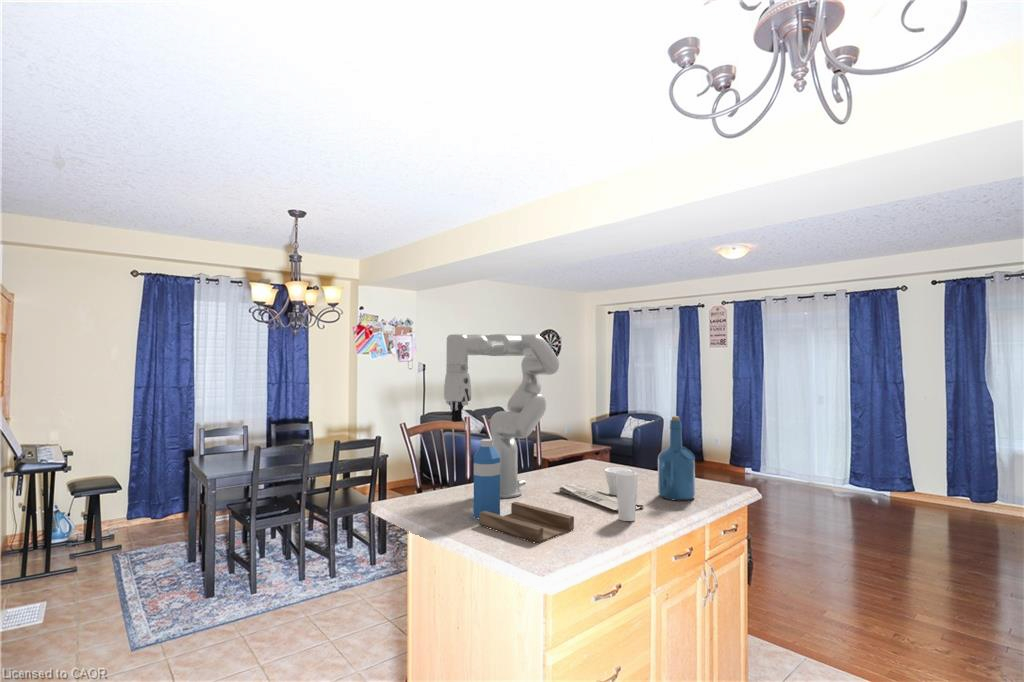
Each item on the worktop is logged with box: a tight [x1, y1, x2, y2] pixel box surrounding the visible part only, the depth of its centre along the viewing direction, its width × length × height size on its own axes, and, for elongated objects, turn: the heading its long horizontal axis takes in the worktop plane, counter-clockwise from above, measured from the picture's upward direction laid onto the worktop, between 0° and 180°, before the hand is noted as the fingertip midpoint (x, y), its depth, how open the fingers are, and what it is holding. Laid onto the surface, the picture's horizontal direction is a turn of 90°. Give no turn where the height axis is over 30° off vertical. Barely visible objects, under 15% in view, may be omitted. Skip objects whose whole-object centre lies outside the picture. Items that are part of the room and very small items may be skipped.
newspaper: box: [558, 483, 644, 512], centre depth 192 cm, size 35×12×4 cm, turn 33°
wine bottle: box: [657, 415, 696, 501], centre depth 196 cm, size 14×13×30 cm
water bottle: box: [473, 438, 501, 519], centre depth 173 cm, size 9×9×25 cm
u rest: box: [478, 501, 575, 544], centre depth 161 cm, size 17×24×4 cm
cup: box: [604, 466, 632, 497], centre depth 200 cm, size 10×10×9 cm
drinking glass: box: [616, 470, 638, 522], centre depth 168 cm, size 7×7×15 cm
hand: (456, 421), depth 184 cm, fingers closed
